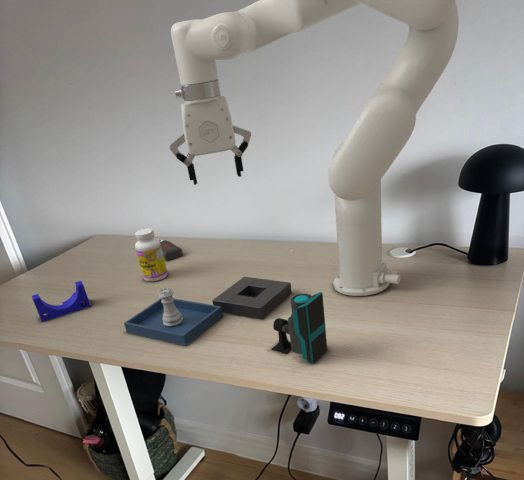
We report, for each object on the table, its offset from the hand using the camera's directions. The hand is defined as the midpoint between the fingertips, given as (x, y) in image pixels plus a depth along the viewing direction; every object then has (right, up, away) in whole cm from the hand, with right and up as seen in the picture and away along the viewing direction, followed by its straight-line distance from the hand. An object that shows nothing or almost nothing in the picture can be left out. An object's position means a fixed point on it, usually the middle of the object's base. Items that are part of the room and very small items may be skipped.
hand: (217, 179), depth 113 cm
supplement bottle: (-19, -18, +28) cm, 38 cm away
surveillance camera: (+17, -37, -14) cm, 43 cm away
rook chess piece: (-10, -31, +2) cm, 33 cm away
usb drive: (-19, -8, +43) cm, 47 cm away
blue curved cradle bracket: (-39, -27, +17) cm, 51 cm away
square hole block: (+8, -26, +6) cm, 28 cm away
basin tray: (-10, -31, +2) cm, 33 cm away
